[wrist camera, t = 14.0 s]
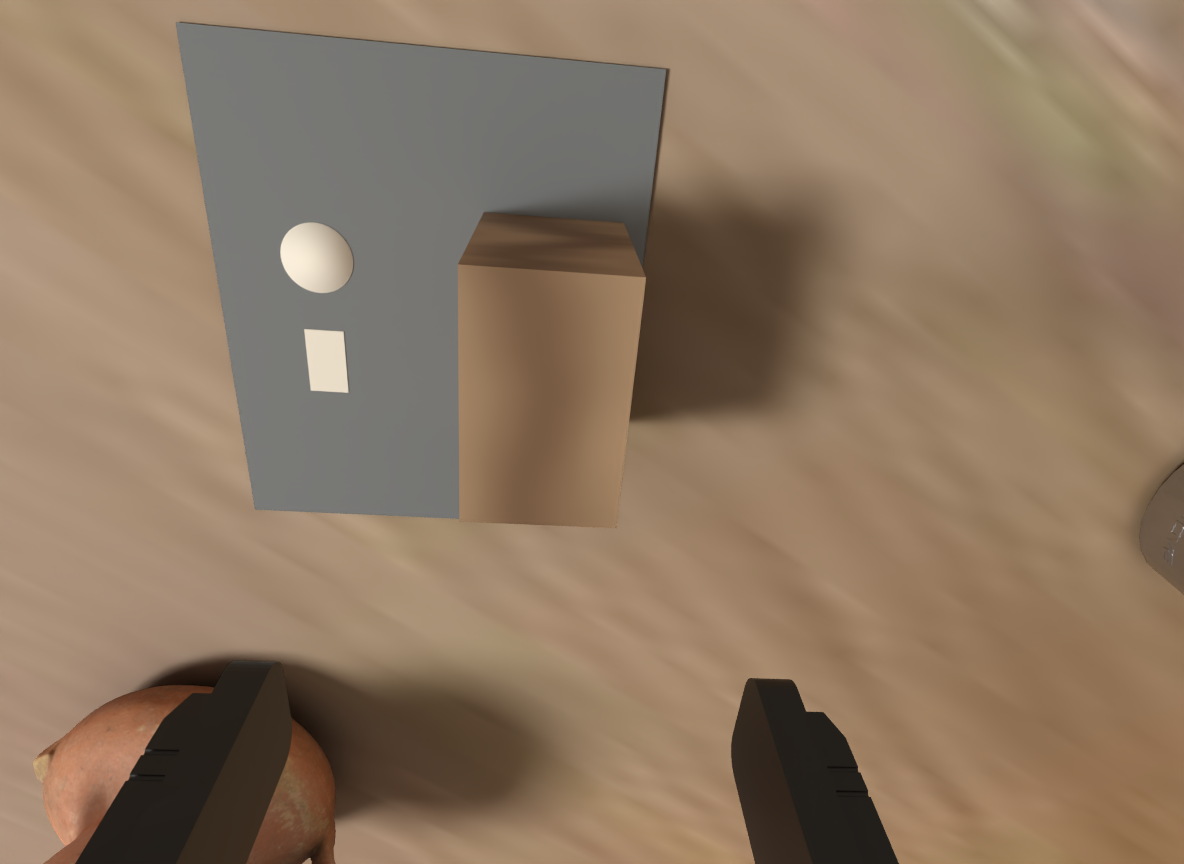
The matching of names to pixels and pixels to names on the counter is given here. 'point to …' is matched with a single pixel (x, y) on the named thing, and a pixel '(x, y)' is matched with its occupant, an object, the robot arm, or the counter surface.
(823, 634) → the counter surface
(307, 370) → the grey mat
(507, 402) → the walnut block
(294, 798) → the ceramic jug
